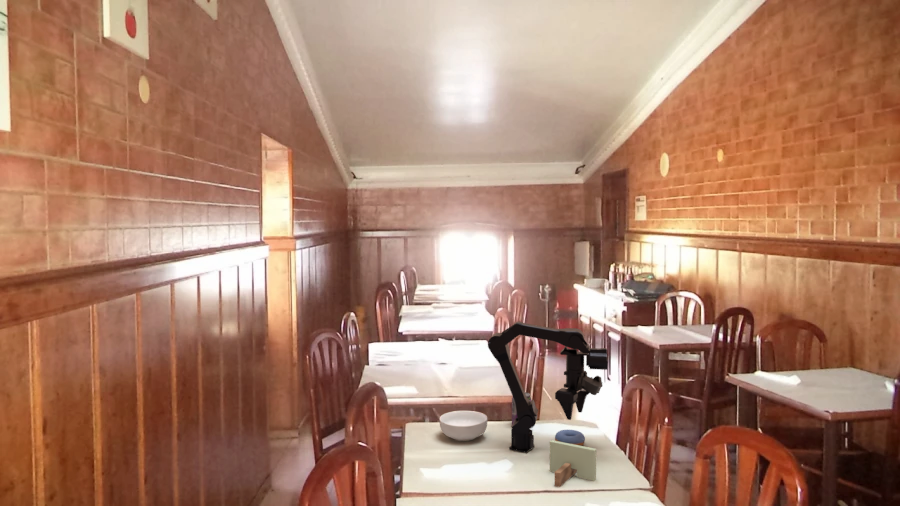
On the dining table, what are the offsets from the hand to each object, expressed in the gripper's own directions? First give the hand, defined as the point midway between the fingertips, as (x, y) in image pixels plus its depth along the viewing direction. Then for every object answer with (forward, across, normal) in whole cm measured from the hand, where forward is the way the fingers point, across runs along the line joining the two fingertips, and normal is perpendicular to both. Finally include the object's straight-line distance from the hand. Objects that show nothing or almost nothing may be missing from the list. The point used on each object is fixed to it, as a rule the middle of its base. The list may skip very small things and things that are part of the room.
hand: (574, 415), depth 212 cm
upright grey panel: (+12, -18, -7) cm, 23 cm away
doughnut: (+12, +7, +4) cm, 15 cm away
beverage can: (+12, +14, +26) cm, 32 cm away
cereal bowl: (+12, -7, +38) cm, 41 cm away
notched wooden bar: (+12, -18, -6) cm, 22 cm away
